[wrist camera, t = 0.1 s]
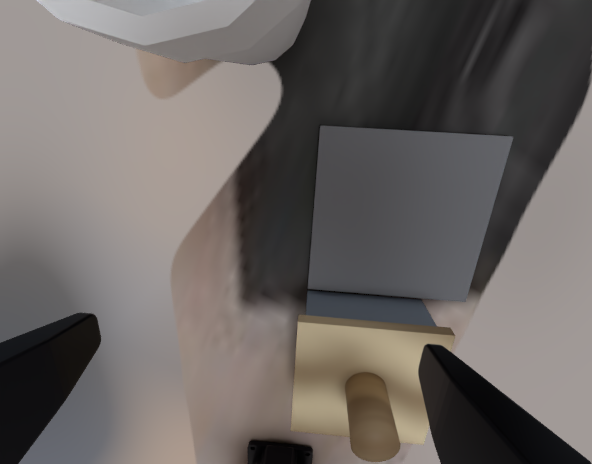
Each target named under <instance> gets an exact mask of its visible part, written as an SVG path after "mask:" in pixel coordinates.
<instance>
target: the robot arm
mask: <svg viewBox="0 0 592 464" xmlns="http://www.w3.org/2000/svg"><path fill="white" fill-rule="evenodd" d="M100 342H101V335H100V330H99V325H98V320H97V317H96V316H95V315H94V314H91V313H76V314H74V315H71V316H69V317H66V318H64V319H61V320H58V321H56V322H53V323H50V324H48V325H45V326H43V327H40V328H37V329H35V330H32V331H30V332H27V333H25V334H22V335H19V336H17V337H14V338H12V339H9V340H6V341H4V342H1V343H0V464H18V463H19V462H20V461H21V459H22V458H23V457H24V455H25V454H26V453H27V451H28V450H29V449H30V447H31V446H32V445H33V443H34V442H35V441H36V439H37V438H38V437H39V435H40V434H41V433H42V431H43V430H44V429H45V427H46V426H47V425H48V423H49V422H50V421H51V419H52V418H53V417H54V415H55V414H56V413H57V411H58V410H59V408H60V407H61V406H62V404H63V403H64V401H65V400H66V399H67V397H68V396H69V394H70V393H71V391H72V389H73V388H74V386H75V385H76V383H77V381H78V380H79V378H80V376H81V375H82V373H83V372H84V370H85V369H86V367H87V365H88V364H89V362H90V360H91V359H92V357H93V356H94V354H95V353H96V351H97V349H98V347H99V345H100ZM418 376H419V381H420V385H421V390H422V394H423V399H424V403H425V408H426V412H427V416H428V421H429V425H430V429H431V434H432V437H433V441H434V444H435V447H436V450H437V453H438V456H439V459H440V462H441V464H591V462H590V461H589V460H587V459H586V458H585V457H583V456H582V455H581V454H580V453H579V452H577V451H576V450H575V449H574V448H572V447H571V446H570V445H569V444H567V443H566V442H565V441H563V440H562V439H561V438H560V437H558V436H557V435H556V434H554V433H553V432H552V431H551V430H549V429H548V428H547V427H546V426H544V425H543V424H541V422H539V421H538V420H537V419H535V418H534V417H533V416H532V415H530V414H529V413H528V412H527V411H525V410H524V409H523V408H521V407H520V406H519V405H517V404H516V403H515V402H514V401H512V400H511V399H510V398H509V397H507V396H506V395H505V394H504V393H502V392H501V391H500V390H498V389H497V388H496V387H495V386H493V385H492V384H491V383H490V382H488V381H487V380H486V379H484V378H483V377H482V376H481V375H479V374H478V373H477V372H476V371H474V370H473V369H472V368H471V367H469V366H468V365H466V364H465V363H464V362H463V361H462V360H460V359H459V358H458V357H456V356H455V355H454V354H453V353H451V352H450V351H449V350H448V349H446V348H445V347H444V346H442V345H437V344H426V345H425V346H424V348H423V351H422V355H421V359H420V363H419V368H418ZM312 456H313V450H312V448H310V447H305V446H296V445H287V444H277V443H268V442H259V441H250V442H249V445H248V464H312Z"/></svg>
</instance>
